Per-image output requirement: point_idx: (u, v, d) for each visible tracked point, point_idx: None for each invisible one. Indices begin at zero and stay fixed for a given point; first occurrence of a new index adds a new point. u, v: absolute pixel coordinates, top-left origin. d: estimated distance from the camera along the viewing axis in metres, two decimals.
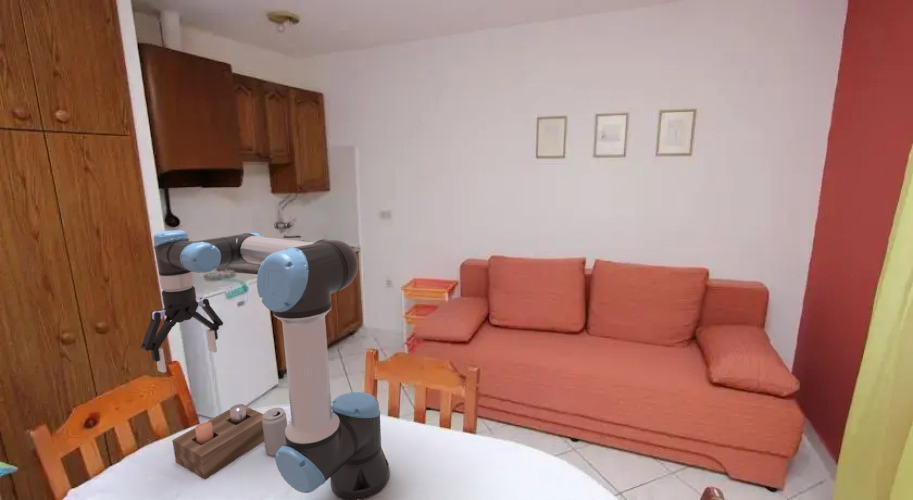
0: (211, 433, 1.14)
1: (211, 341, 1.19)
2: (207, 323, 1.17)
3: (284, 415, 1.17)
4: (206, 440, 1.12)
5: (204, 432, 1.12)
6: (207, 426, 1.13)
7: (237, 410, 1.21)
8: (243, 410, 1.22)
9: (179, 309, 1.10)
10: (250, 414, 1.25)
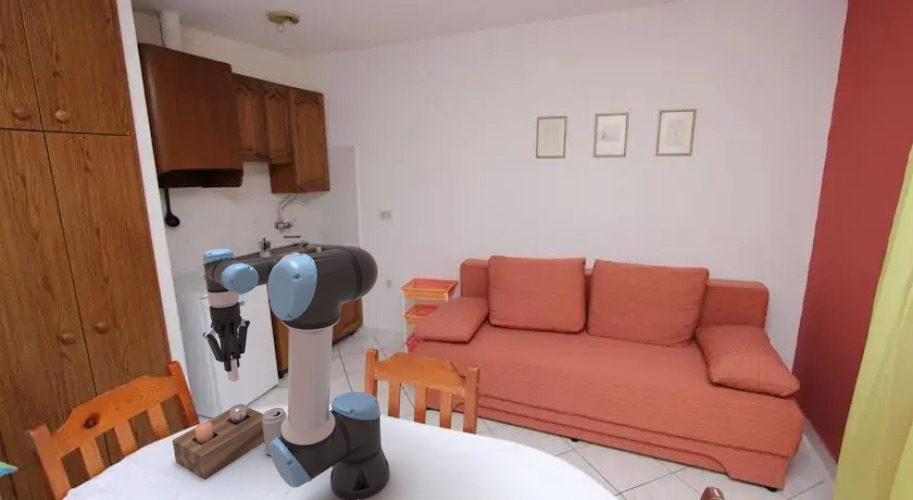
0: (211, 433, 1.14)
1: None
2: (235, 347, 1.19)
3: (284, 415, 1.17)
4: (206, 440, 1.12)
5: (204, 432, 1.12)
6: (207, 426, 1.13)
7: (237, 410, 1.21)
8: (243, 410, 1.22)
9: (223, 324, 1.15)
10: (250, 414, 1.25)
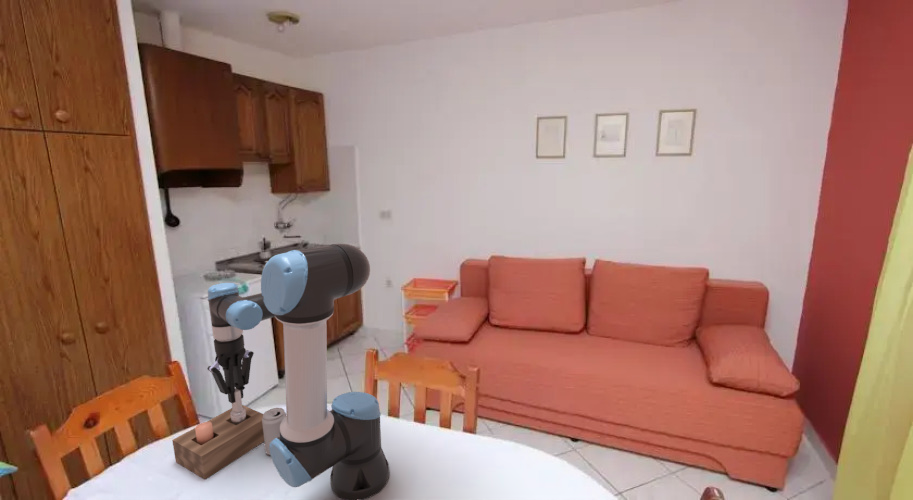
0: (211, 433, 1.14)
1: None
2: (239, 378, 1.20)
3: (284, 415, 1.17)
4: (206, 440, 1.12)
5: (204, 432, 1.12)
6: (207, 426, 1.13)
7: (237, 413, 1.21)
8: (243, 413, 1.22)
9: (228, 357, 1.17)
10: (250, 414, 1.25)
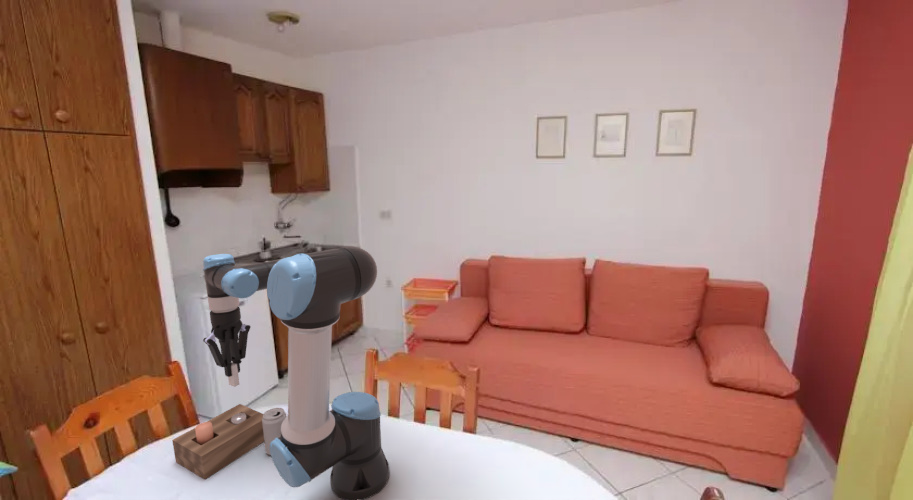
0: (211, 433, 1.14)
1: None
2: (236, 352, 1.19)
3: (284, 415, 1.17)
4: (206, 440, 1.12)
5: (204, 432, 1.12)
6: (207, 426, 1.13)
7: (238, 419, 1.21)
8: (244, 419, 1.22)
9: (224, 329, 1.15)
10: (250, 414, 1.25)
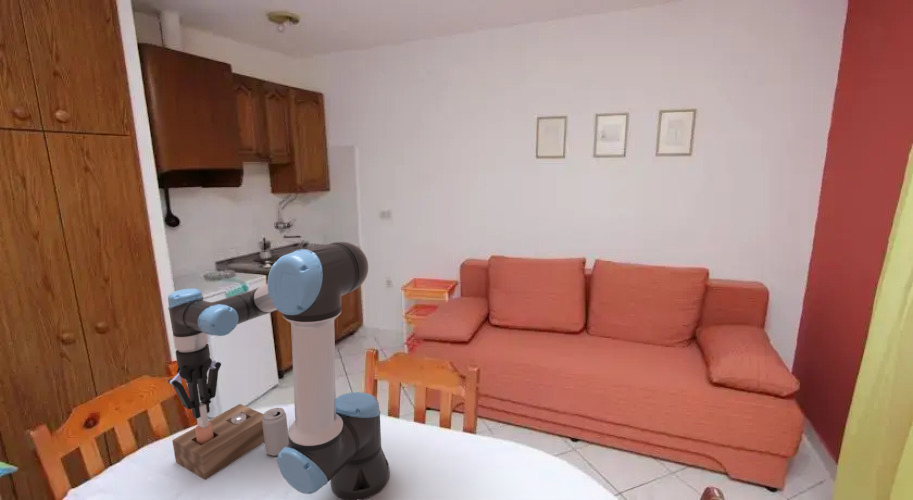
0: (211, 433, 1.14)
1: None
2: (205, 391, 1.12)
3: (284, 415, 1.17)
4: (206, 440, 1.13)
5: (204, 432, 1.12)
6: (207, 426, 1.13)
7: (238, 419, 1.21)
8: (244, 419, 1.22)
9: (191, 369, 1.08)
10: (250, 414, 1.25)
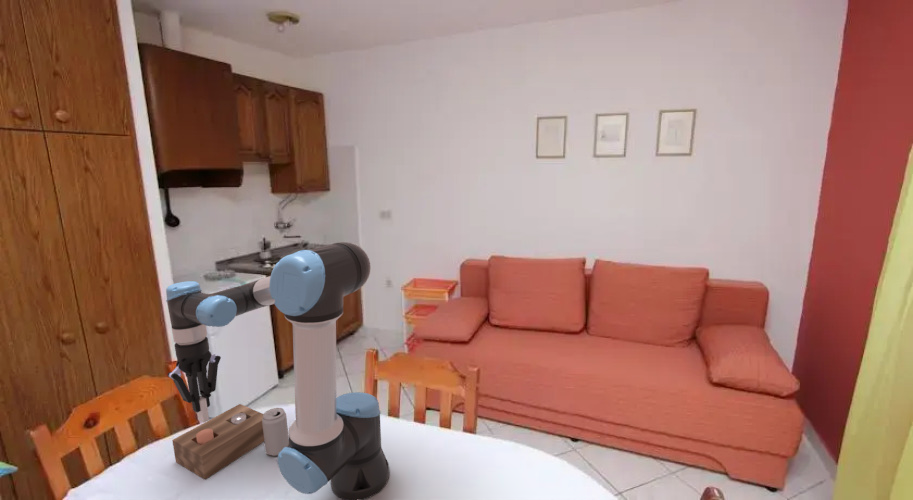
0: None
1: None
2: (204, 385, 1.11)
3: (284, 415, 1.17)
4: None
5: (205, 439, 1.12)
6: (208, 433, 1.14)
7: (238, 419, 1.21)
8: (244, 419, 1.22)
9: (190, 362, 1.07)
10: (250, 414, 1.25)
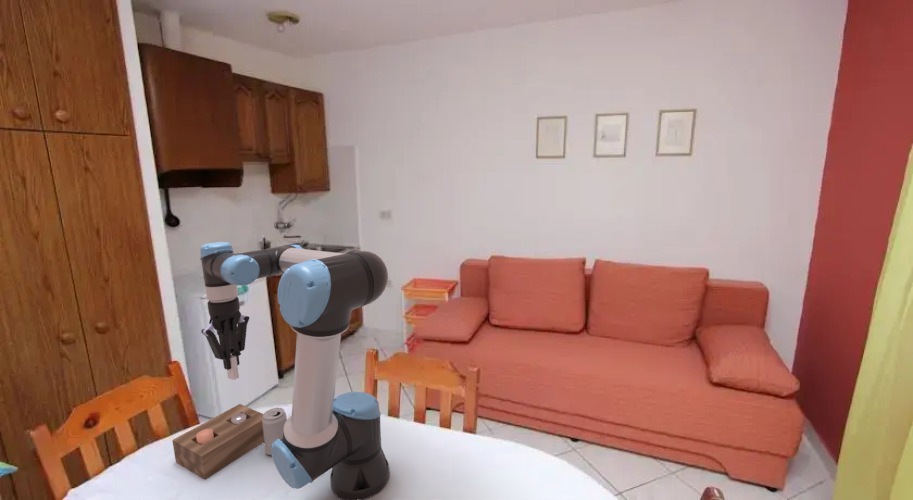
0: None
1: None
2: (235, 343, 1.15)
3: (284, 415, 1.17)
4: None
5: (205, 439, 1.12)
6: (208, 433, 1.14)
7: (238, 419, 1.21)
8: (244, 419, 1.22)
9: (222, 320, 1.11)
10: (250, 414, 1.25)
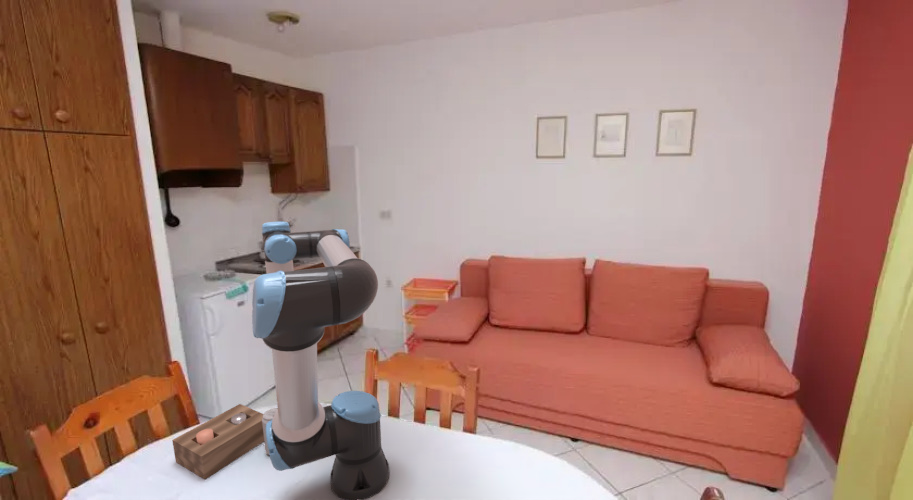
0: None
1: None
2: None
3: None
4: None
5: (205, 439, 1.12)
6: (208, 433, 1.14)
7: (238, 419, 1.21)
8: (244, 419, 1.22)
9: None
10: (250, 414, 1.25)
